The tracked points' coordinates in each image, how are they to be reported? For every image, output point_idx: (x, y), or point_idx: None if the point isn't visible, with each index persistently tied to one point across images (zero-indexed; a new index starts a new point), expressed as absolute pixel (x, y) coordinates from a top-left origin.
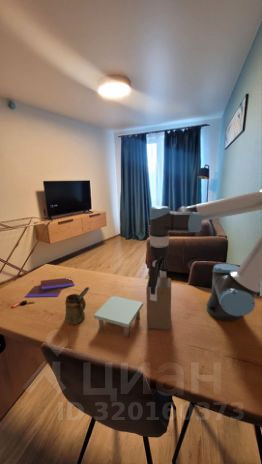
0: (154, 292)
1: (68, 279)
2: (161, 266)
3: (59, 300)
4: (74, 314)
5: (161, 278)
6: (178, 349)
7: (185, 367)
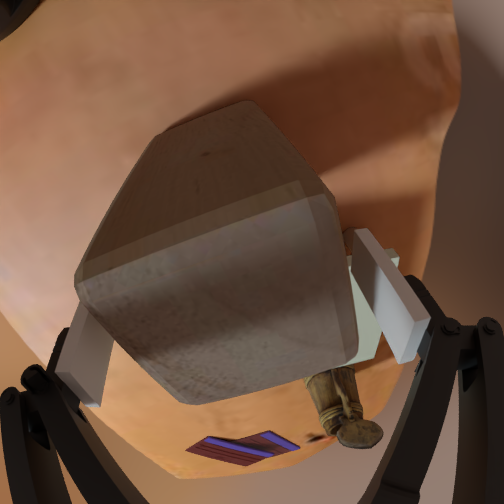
0: (414, 286)
1: (197, 450)
2: (113, 466)
3: (279, 422)
4: (353, 383)
5: (158, 349)
6: (341, 36)
7: (402, 7)
